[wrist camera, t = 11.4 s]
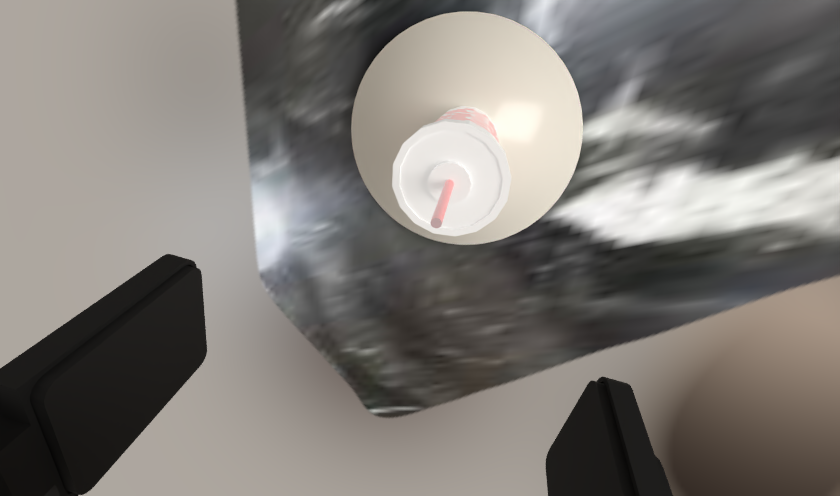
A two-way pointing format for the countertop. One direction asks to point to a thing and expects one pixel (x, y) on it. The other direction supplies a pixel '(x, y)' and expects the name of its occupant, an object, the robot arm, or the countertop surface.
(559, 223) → the countertop surface
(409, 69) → the dish
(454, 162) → the beverage cup
